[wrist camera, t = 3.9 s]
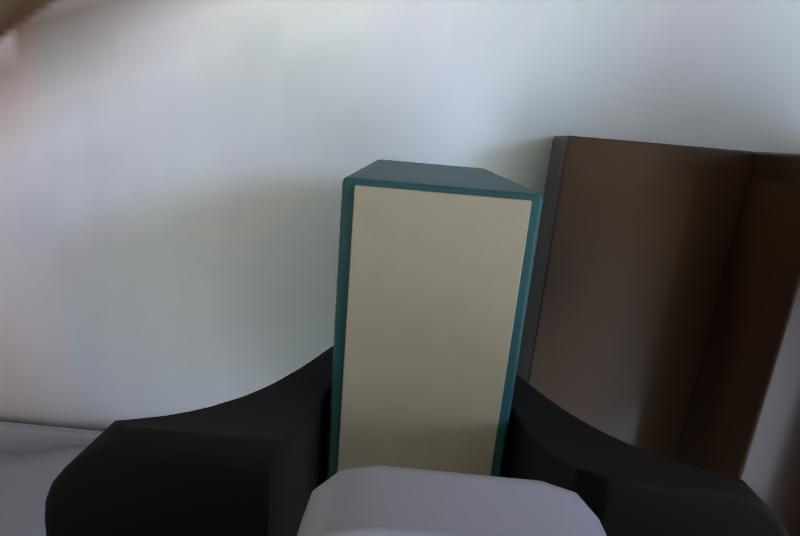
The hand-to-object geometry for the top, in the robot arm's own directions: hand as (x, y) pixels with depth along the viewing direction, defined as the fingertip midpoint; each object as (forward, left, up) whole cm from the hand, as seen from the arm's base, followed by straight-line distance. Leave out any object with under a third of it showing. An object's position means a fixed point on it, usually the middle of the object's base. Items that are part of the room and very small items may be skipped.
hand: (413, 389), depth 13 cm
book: (0, 0, -2) cm, 2 cm away
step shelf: (+8, 0, -4) cm, 9 cm away
